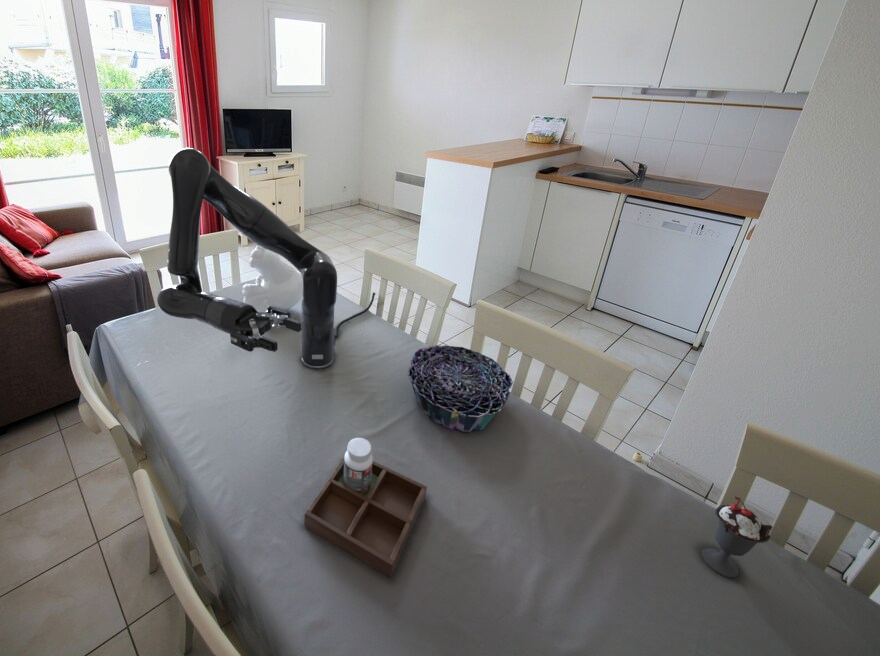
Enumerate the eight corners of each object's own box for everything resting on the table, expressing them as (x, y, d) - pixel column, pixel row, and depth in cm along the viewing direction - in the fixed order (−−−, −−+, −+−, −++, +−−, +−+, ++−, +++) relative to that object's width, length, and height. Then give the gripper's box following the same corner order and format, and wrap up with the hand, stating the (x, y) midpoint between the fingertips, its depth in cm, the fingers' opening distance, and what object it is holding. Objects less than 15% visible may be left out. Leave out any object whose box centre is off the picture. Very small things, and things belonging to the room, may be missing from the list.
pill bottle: (369, 498, 85) (372, 461, 81) (340, 492, 86) (342, 455, 82) (372, 474, 90) (375, 438, 86) (345, 469, 91) (347, 433, 87)
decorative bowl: (504, 387, 120) (510, 356, 117) (510, 456, 95) (518, 419, 92) (413, 367, 128) (416, 337, 125) (396, 426, 103) (400, 391, 100)
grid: (348, 460, 94) (349, 449, 93) (425, 498, 86) (427, 486, 84) (304, 526, 80) (304, 513, 79) (390, 578, 72) (392, 565, 70)
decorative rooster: (289, 275, 166) (249, 234, 151) (317, 280, 155) (277, 237, 140) (254, 330, 157) (207, 293, 142) (282, 340, 146) (234, 301, 131)
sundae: (685, 545, 78) (715, 485, 72) (719, 542, 78) (751, 483, 73) (719, 584, 72) (754, 523, 66) (755, 581, 72) (794, 520, 67)
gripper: (206, 315, 90) (267, 337, 83) (250, 289, 102) (307, 306, 94) (209, 345, 93) (268, 369, 86) (252, 316, 105) (307, 335, 97)
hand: (289, 336), depth 90 cm, fingers open, 8 cm apart
